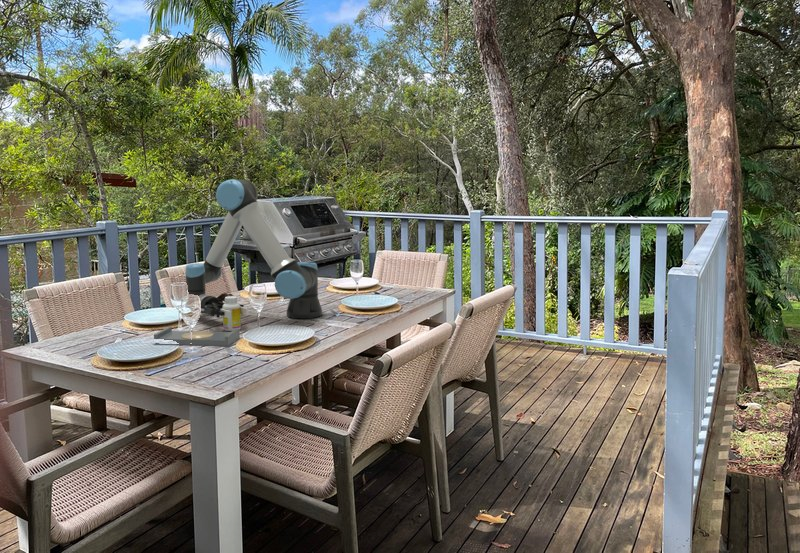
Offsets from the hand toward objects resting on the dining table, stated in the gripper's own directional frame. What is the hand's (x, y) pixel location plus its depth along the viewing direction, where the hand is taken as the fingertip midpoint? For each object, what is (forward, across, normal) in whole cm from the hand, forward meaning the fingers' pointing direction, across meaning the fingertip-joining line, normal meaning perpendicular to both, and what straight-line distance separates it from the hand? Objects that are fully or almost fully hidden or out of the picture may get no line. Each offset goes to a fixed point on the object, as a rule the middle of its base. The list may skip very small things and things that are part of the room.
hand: (238, 313), depth 245 cm
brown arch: (-43, -20, -8) cm, 48 cm away
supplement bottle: (-5, 0, -7) cm, 9 cm away
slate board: (+2, +18, -7) cm, 19 cm away
